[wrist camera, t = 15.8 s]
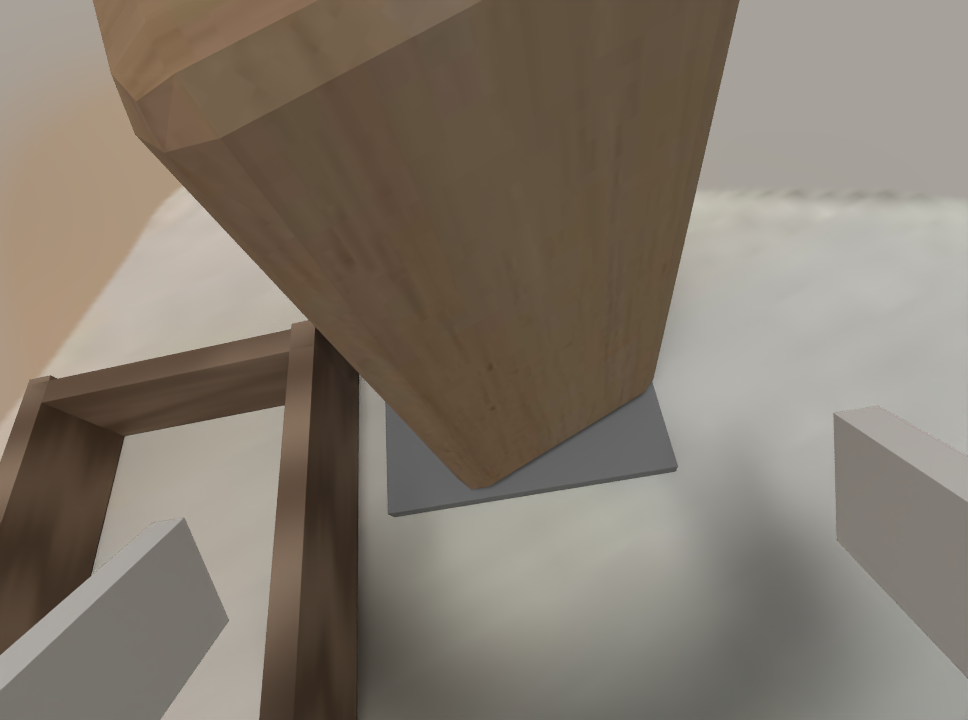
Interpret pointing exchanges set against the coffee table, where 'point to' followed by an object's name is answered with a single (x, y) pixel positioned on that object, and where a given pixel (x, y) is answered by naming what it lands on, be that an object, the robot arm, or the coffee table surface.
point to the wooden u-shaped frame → (182, 400)
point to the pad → (533, 461)
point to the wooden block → (446, 186)
